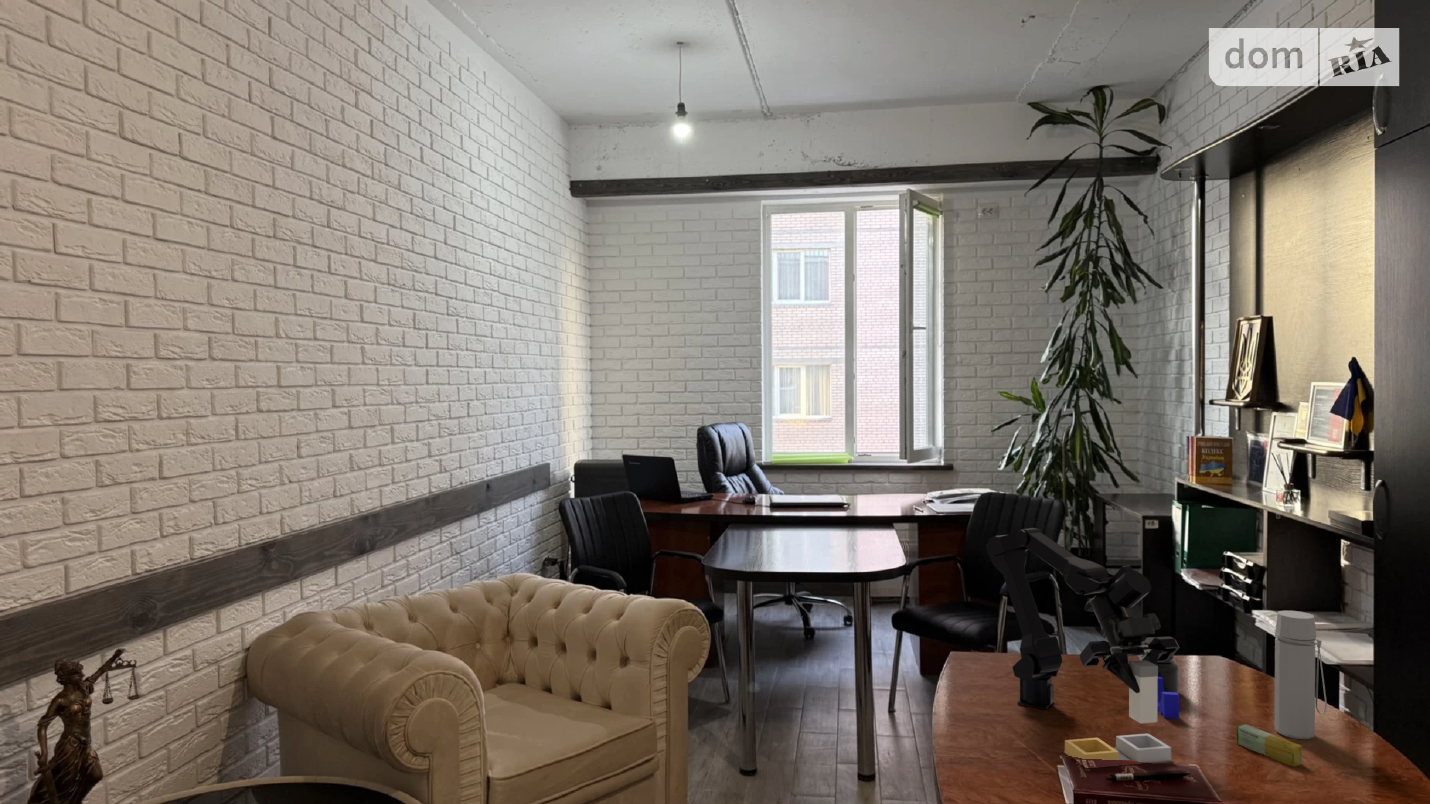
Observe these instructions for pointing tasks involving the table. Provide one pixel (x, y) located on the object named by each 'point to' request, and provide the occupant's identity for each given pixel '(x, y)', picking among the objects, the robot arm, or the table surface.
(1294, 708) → the water bottle
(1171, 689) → the ink bottle
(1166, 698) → the cable clip
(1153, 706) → the white plug
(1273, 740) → the medication box
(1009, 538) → the robot arm
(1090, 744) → the socket board
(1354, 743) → the table surface
